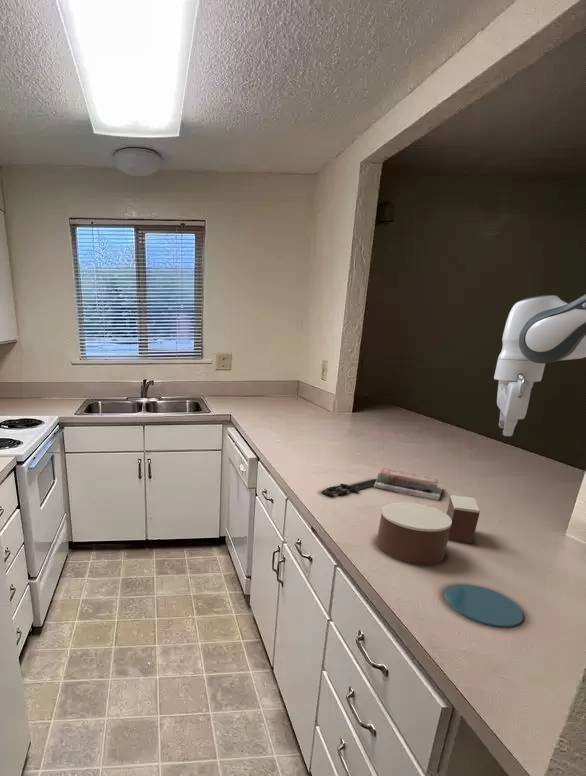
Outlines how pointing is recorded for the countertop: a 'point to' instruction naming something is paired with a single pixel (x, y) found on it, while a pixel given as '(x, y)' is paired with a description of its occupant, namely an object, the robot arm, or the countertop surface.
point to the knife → (348, 488)
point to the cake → (413, 532)
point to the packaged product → (408, 484)
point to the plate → (484, 606)
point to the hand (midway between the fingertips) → (504, 431)
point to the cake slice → (463, 518)
